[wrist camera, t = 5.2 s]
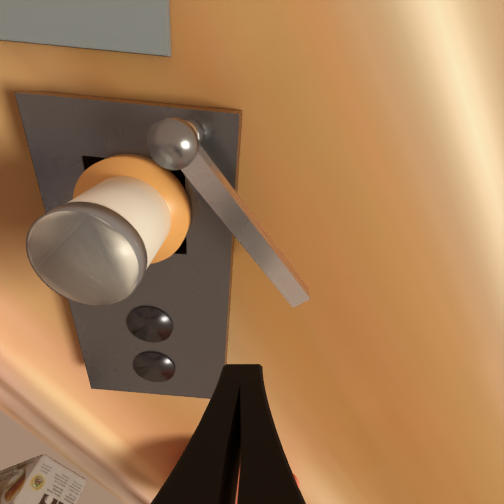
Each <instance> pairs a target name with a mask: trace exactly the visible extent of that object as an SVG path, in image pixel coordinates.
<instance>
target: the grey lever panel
mask: <svg viewBox="0 0 504 504" xmlns="http://www.w3.org/2000/svg"><path fill="white" fill-rule="evenodd" d="M15 96H16V100H17V104H18V107H19V111H20V115H21V119H22V123H23V127H24V131H25V134H26V138H27V142H28V146H29V150H30V154H31V158H32V161H33V165H34V169H35V173H36V177H37V181H38V185H39V188H40V192H41V196H42V200H43V204H44V208H45V212H46V213H48V212H49V211H51V210H53V209H54V208H56V207H58V206H60V205H62V204H65V203H67V202H69V201H71V200H72V199H73V193H74V189H75V186H76V183H77V181H78V179H79V177H80V176H81V175H82V173H83V172H84V171H85V170H86V169H87V168H89V167H90V166H92V165H93V164H95V163H97V162H99V161H101V160H103V158H108V157H110V156H114V155H118V154H136V155H141V156H145V157H148V158H150V159H153V158H152V157H151V155H150V153H149V150H148V147H147V136H148V132H149V130H150V128H151V127H152V126H153V125H154V124H155V123H156V122H158V121H160V120H163V119H166V118H170V117H175V118H180V119H183V120H186V119H191V120H194V121H196V122H197V123H198V124H199V125H200V126H201V128H202V131H203V138H202V141H201V142H200V145H201V146H202V148H203V149H204V150H205V152H206V153H207V154H208V156H209V157H210V158H211V159H212V161H213V162H214V163H215V165H216V166H217V167H218V169H219V170H220V171H221V173H222V174H223V175H224V177H225V178H226V179H227V181H228V182H229V183H230V185H231V186H232V187H233V189H234V190H235V191H236V193H237V187H238V171H239V156H240V140H241V124H242V110H232V109H221V108H211V107H200V106H190V105H180V104H169V103H159V102H148V101H138V100H127V99H117V98H107V97H96V96H86V95H75V94H65V93H54V92H44V91H41V92H15ZM102 157H103V158H102ZM153 160H154V159H153ZM185 191H186V193H187V195H188V198H189V201H190V205H191V223H190V227H189V230H188V232H187V234H186V238H184V240H183V242H182V244H181V246H180V247H179V248H178V249H177V251H176V252H175V253H173V254H172V255H171V256H170V257H168V258H166V259H164V260H162V261H160V262H157V263H153V264H150V265H149V266H148V268H147V269H146V272H145V274H144V276H143V278H142V280H141V281H140V283H139V284H138V286H137V288H136V289H135V290H134V292H133V293H132V294H131V295H130V296H129V297H128V298H126V299H125V300H124V301H121V302H119V303H117V304H114V305H109V306H89V305H84V304H80V303H77V302H74V301H71V300H69V299H68V300H69V304H70V308H71V312H72V316H73V320H74V323H75V327H76V331H77V335H78V339H79V343H80V347H81V350H82V354H83V358H84V362H85V366H86V370H87V374H88V377H89V381H90V385H91V388H92V389H104V390H115V391H127V392H138V393H150V394H161V395H173V396H184V397H196V398H208V399H211V397H212V395H213V393H214V390H215V388H216V386H217V383H218V380H219V377H220V375H221V372H222V368H223V366H224V365H226V362H227V346H228V330H229V314H230V298H231V282H232V267H233V251H234V235H233V233H232V232H231V231H230V230H229V229H228V227H227V226H226V225H225V224H224V222H223V221H222V220H221V219H220V218H219V216H218V215H217V214H216V213H215V211H214V210H213V209H212V208H211V206H210V205H209V204H208V203H207V202H206V200H205V199H204V198H203V197H202V195H201V194H200V193H199V192H198V190H197V189H196V188H195V187H194V186H193V184H192V183H191V182H190V181H189V179H188V178H187V177H186V176H185Z"/></svg>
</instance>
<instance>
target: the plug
mask: <svg viewBox="0 0 504 504" xmlns="http://www.w3.org/2000/svg"><path fill="white" fill-rule="evenodd" d="M190 223H191V205H190V201H189V198H188V195H187V193H186V191H185V189H184V187H183V185H182V184H181V182H180V181H179V180H178V178H177V177H176V176H175V175H174V174H173V173H172V172H171V171H170V170H169V169H166V168H163V167H162V166H160V165H159V164H157V163H156V162H155V161H154V160H153V159H150V158H148V157H145V156H141V155H136V154H118V155H114V156H110V157H108V158H106V159H104V160H101V161H99V162H97V163H95V164H93V165H92V166H90V167H89V168H87V169H86V170H85V171H84V172H83V173H82V175H81V176H80V177H79V179H78V181H77V183H76V186H75V189H74V193H73V199H72V200H71V201H69V202H67V203H65V204H62V205H60V206H58V207H56V208H54V209H53V210H51V211H49V212H48V213H46V214H44V215H43V216H41V217H40V218H38V219H37V220H36V221H35V222H34V223H33V225H32V226H31V227H30V229H29V232H28V234H27V238H26V250H27V255H28V258H29V261H30V263H31V265H32V267H33V269H34V271H35V272H36V274H37V275H38V276H39V277H40V279H41V280H42V281H43V282H44V283H45V284H46V285H47V286H48V287H50V288H51V289H52V290H53V291H55V292H56V293H58V294H59V295H61V296H63V297H65V298H67V299H69V300H71V301H74V302H77V303H80V304H84V305H89V306H109V305H114V304H117V303H119V302H121V301H124V300H125V299H126V298H128V297H129V296H130V295H131V294H132V293H133V292H134V290H135V289H136V288H137V286H138V284H139V283H140V281H141V280H142V278H143V276H144V274H145V272H146V269H147V268H148V266H149V265H150V264H153V263H157V262H160V261H162V260H164V259H166V258H168V257H170V256H171V255H172V254H173V253H175V252H176V251H177V249H178V248H179V247H180V246H181V244H182V242H183V240H184V238H185V236H186V234H187V232H188V230H189V227H190Z"/></svg>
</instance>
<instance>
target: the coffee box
mask: <svg viewBox="0 0 504 504" xmlns="http://www.w3.org/2000/svg"><path fill="white" fill-rule="evenodd" d="M86 481H87V480H86V479H85V478H83V477H81V476H80V475H77V474H76V473H75V472H73V471H71V470H69V469H68V468H66V467H64V466H63V465H61V464H60V463H58V462H56V461H55V460H53V459H51V458H50V457H48V456H46V455H40V456H37V457H35V458H32V459H30V460H27V461H25V462H22V463H20V464H17V465H15V466H12V467H9V468H7V469H4V470H2V471H0V504H76V503H77V501H78V499H79V497H80V495H81V492H82V490H83V488H84V486H85V484H86Z"/></svg>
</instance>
